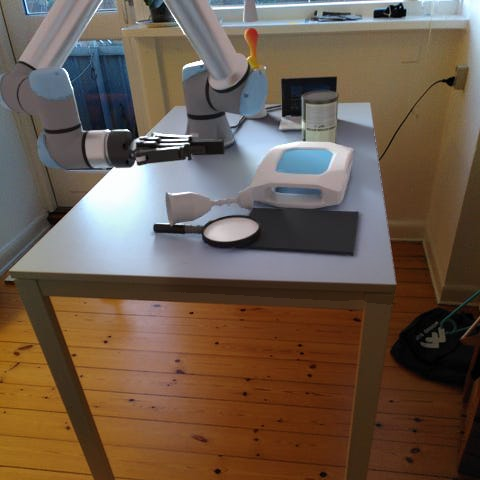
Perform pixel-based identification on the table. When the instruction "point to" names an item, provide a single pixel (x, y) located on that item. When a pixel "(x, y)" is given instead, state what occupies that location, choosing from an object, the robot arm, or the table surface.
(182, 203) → the chalice
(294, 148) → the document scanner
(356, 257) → the table surface
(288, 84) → the laptop
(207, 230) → the magnifying glass
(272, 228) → the mat
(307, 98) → the coffee can
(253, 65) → the lava lamp
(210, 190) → the table surface
